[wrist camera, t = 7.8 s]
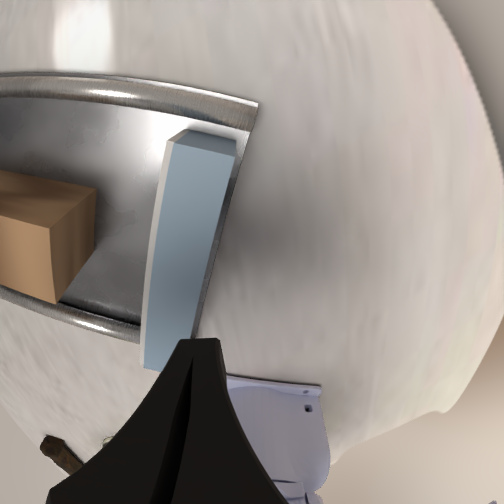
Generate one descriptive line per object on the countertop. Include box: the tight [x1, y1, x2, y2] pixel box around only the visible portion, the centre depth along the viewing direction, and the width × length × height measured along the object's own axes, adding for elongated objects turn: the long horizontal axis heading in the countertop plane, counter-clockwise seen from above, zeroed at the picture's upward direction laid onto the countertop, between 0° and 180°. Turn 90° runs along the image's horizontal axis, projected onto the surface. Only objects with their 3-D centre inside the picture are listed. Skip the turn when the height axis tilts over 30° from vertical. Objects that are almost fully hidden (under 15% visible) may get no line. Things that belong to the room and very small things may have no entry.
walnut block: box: [0, 170, 97, 304], centre depth 13 cm, size 8×4×5 cm, turn 74°
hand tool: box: [40, 436, 83, 475], centre depth 35 cm, size 19×4×5 cm, turn 175°
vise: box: [0, 72, 259, 344], centre depth 14 cm, size 20×16×5 cm
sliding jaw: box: [139, 129, 236, 372], centre depth 15 cm, size 2×12×4 cm, turn 164°
